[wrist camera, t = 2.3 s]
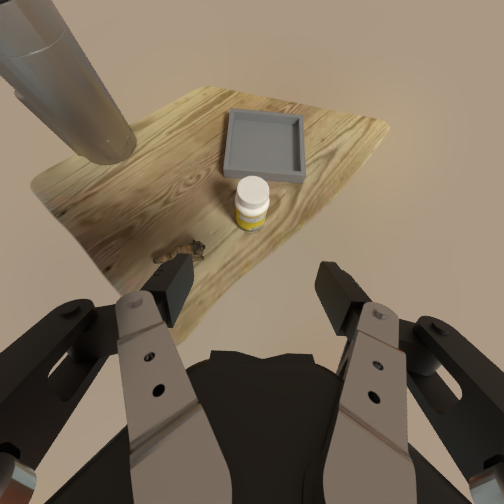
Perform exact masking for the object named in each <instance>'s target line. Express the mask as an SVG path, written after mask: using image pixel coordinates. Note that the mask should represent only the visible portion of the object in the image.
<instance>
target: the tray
mask: <svg viewBox="0 0 504 504" xmlns="http://www.w3.org/2000/svg"><path fill="white" fill-rule="evenodd" d="M223 171H224V177H228V178H240V179H243V178H245V177H247V176H258V177H260V178H262V179H263V180H265V181H277V182H290V183H303V181H304V179H305V176H306V169H305V146H304V123H303V115H296V114H285V113H275V112H265V111H254V110H244V109H234V108H230V115H229V124H228V133H227V141H226V150H225V159H224V167H223Z"/></svg>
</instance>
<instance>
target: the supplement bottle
mask: <svg viewBox="0 0 504 504" xmlns="http://www.w3.org/2000/svg"><path fill="white" fill-rule="evenodd" d="M268 195H269V187H268V184H267V183H266V181H265V180H263V179H262V178H260V177H258V176H247V177H245V178H243V179H242V180H241V181H240V182H239V183H238V186H237V193H236V195H235V213H236V222H237V225H238V226H239V228H240V229H242V230H243V231H245V232H256V231H258V230H259V229H261V227H262V226H263V224H264V221H265V217H266V213H267V209H268V206H269V196H268Z"/></svg>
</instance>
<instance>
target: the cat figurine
mask: <svg viewBox="0 0 504 504" xmlns="http://www.w3.org/2000/svg"><path fill="white" fill-rule="evenodd" d="M204 249H205V245H203V244H202V243H201V242H200V241H195V240H193V243H190V244H185V245H182V246H178V247H176V248H175V252H173V253H169V254H166V255H162V256H159V257H156V258H154V259H153V262H154V263H158V264H159V263H163V262H166V261H168V260H173V258H174V257H175V256H176V255H177V253H191V254H192V259H193V262H194V261H198V260H204V256H202V254H203V250H204Z"/></svg>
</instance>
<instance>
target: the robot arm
mask: <svg viewBox="0 0 504 504" xmlns="http://www.w3.org/2000/svg"><path fill="white" fill-rule="evenodd" d="M0 75H1V76H2V77H3V78H4V79H5V80H6V81H7V82H8V83H9V84H10V85H11V86H12V87H13V88H14V89H15V92H14V93H15V96H16V97H17V99H19V100H20V101H21V102H22V103H23V104H24V105H25V106H26V107H27V108H28V109H29V110H30V111H31V112H33V113H34V114H35V115H36V116H37V117H38V118H39V119H40V120H41V121H42V122H43V123H44V124H45V125H47V126H48V127H49V128H50V129H51V130H52V131H53V132H54V133H55V134H56V135H57V136H58V137H59V138H60V139H61V140H63V141H64V142H65V143H66V144H67V145H68V146H69V147H70V148H71V149H72V150H73V151H74V152H75V153H77V154H78V155H80V156H85V157H86V158H87V159H88V160H89V161H91V162H93V163H97V164H103V165H108V164H114V163H118V162H120V161H122V160H124V159H126V158H127V157H128V156H129V155H131V153H132V152H133V151H134V149H135V147H136V137H135V134H134V133H133V131H132V129H131V128H130V126H129V125H128V123H127V121H126V120H125V118H124V116H123V115H122V114H121V111H120V110H119V108H118V107H117V105H116V103H115V102H114V100H113V99H112V97H111V95H110V94H109V92H108V90H107V89H106V87H105V86H104V84H103V83H102V81H101V79H100V78H99V76H98V74H97V73H96V71H95V70H94V68H93V67H92V65H91V63H90V62H89V60H88V58H87V57H86V55H85V53H84V52H83V50H82V49H81V47H80V45H79V44H78V42H77V41H76V39H75V37H74V36H73V34H72V33H71V31H70V29H69V28H68V26H67V24H66V23H65V21H64V20H63V18H62V16H61V15H60V13H59V12H58V10H57V8H56V7H55V5H54V4H53V2H52V1H51V0H0ZM193 282H194V269H193V259H192V254H191V253H177V255H176V256H175V257H174V258H173V260H168V261H166V262H165V263H163V264H161V265H160V267H159V268H158V269H157V271H155V272H154V274H153V276H151V277H150V278H149V280H148V281H147V282H146V283H145V284H144V286H143V287H142V288H141V289H140V290H139V291H134V292H131V293H128V294H126V295H124V296H123V297H121V298H120V299H119V300H118V301H117V302H116V304H113V305H108V306H102V307H96V308H95V306H94V304H93V302H92V301H91V300H88V299H78V300H73V301H70V302H67V303H64V304H63V305H60V306H58V307H57V308H55V309H54V310H52V311H51V312H50V313H49V314H47V315H46V316H45V317H44V318H43V319H41V320H40V321H39V322H38V323H37V324H35V325H34V326H33V327H32V328H30V329H29V330H28V331H27V332H26V333H24V334H23V335H22V336H21V337H19V338H18V339H17V340H16V341H15V342H13V343H12V344H11V345H10V346H9V347H7V348H6V349H5V350H4V351H3V352H1V353H0V504H29V502H30V499H31V498H32V495H33V492H34V490H35V486H36V473H35V469H36V468H37V467H38V465H39V463H40V462H41V460H42V459H43V457H44V456H45V454H46V453H47V451H48V450H49V448H50V446H51V445H52V443H53V442H54V440H55V439H56V437H57V436H58V434H59V433H60V431H61V430H62V428H63V426H64V425H65V423H66V422H67V420H68V419H69V417H70V416H71V414H72V412H73V411H74V409H75V408H76V406H77V405H78V403H79V402H80V400H81V399H82V397H83V396H84V394H85V393H86V391H87V389H88V388H89V386H90V385H91V383H92V382H93V380H94V379H95V377H96V376H97V374H98V372H99V371H100V369H101V368H102V366H103V365H104V363H105V362H106V360H107V359H108V357H109V355H114V354H117V353H118V354H119V362H120V370H121V378H122V386H123V394H124V401H125V409H126V417H127V425H126V426H125V427H124V428H123V429H122V430H121V431H120V432H119V433H118V434H117V435H116V436H115V437H113V438H112V439H111V440H110V441H109V442H108V443H107V444H106V445H105V446H104V447H103V448H102V449H101V450H100V451H99V452H98V453H97V454H96V455H95V456H94V457H93V458H91V459H90V461H88V462H87V463H86V464H85V465H84V466H83V467H82V468H81V469H80V470H79V471H78V472H77V473H76V474H75V475H74V476H73V477H72V478H71V479H69V480H68V481H67V483H65V484H64V485H63V486H62V487H61V488H60V489H59V490H58V491H57V492H56V493H55V494H54V495H53V496H52V497H51V498H50V499H48V500H47V501H46V502H45V503H44V504H472V503H471V502H470V501H469V500H468V499H467V498H466V497H465V496H464V495H463V494H461V492H460V491H458V490H457V489H456V488H455V487H454V486H453V485H452V484H451V483H450V482H449V481H448V480H447V479H446V478H445V477H444V476H443V475H442V474H441V473H440V472H439V471H438V470H436V469H435V467H434V466H432V465H431V464H430V463H429V462H428V461H427V460H426V459H425V458H424V457H423V456H422V455H421V454H420V453H419V452H418V451H417V450H416V449H415V448H414V447H413V446H412V445H411V444H410V443H408V439H407V438H408V436H407V387H408V388H409V390H410V392H411V393H412V395H413V396H414V398H415V399H416V401H417V402H418V404H419V406H420V407H421V409H422V411H423V412H424V414H425V415H426V417H427V418H428V420H429V422H430V423H431V425H432V426H433V428H434V430H435V431H436V433H437V434H438V436H439V438H440V439H441V441H442V443H443V444H444V446H445V447H446V449H447V450H448V452H449V454H450V455H451V457H452V458H453V460H454V462H455V463H456V465H457V466H458V468H459V470H460V471H461V472H462V474H463V476H464V477H465V479H466V481H467V482H468V484H469V489H470V493H471V496H472V499H473V501H474V503H475V504H504V372H503V371H501V370H500V369H499V368H498V367H497V366H496V365H495V364H494V363H493V362H491V361H490V360H489V359H488V358H487V357H486V356H485V355H484V354H482V353H481V352H480V351H479V350H478V349H477V348H476V347H475V346H474V345H472V344H471V343H470V342H469V341H468V340H467V339H466V338H465V337H463V336H462V335H461V334H460V333H459V332H458V331H457V330H456V329H454V328H453V327H452V326H450V325H449V324H447V323H445V322H443V321H441V320H439V319H437V318H434V317H430V316H422V317H420V318H419V319H418V321H417V322H416V323H413V322H409V321H406V320H402V319H399V318H398V316H397V315H396V314H395V313H394V312H393V311H392V310H391V309H389V308H388V307H386V306H384V305H382V304H379V303H375V302H372V301H371V299H370V298H369V297H368V296H367V295H366V293H365V292H364V291H363V290H362V288H361V287H359V285H358V284H357V283H356V282H355V280H354V279H353V278H352V276H350V275H349V274H348V273H346V272H345V271H343V270H341V269H340V268H339V266H338V265H337V264H336V263H335V262H325V261H322V262H321V263H320V267H319V270H318V273H317V277H316V280H315V290H316V293H317V295H318V297H319V299H320V301H321V304H322V306H323V307H324V310H325V312H326V314H327V316H328V318H329V320H330V322H331V324H332V326H333V329H334V331H335V333H336V335H337V336H346V337H347V339H348V340H347V342H346V344H345V347H344V350H343V353H342V356H341V360H340V363H339V366H338V369H337V371H336V374H335V373H333V372H332V371H330V370H329V369H327V368H325V367H323V366H321V365H318V364H315V362H314V358H313V355H312V354H290V353H289V354H288V353H287V354H283V355H279V356H274V357H270V358H266V359H260V358H257V357H254V356H250V355H246V354H244V353H240V352H237V351H214V350H212V351H211V354H210V359H208V360H204V361H201V362H198V363H196V364H194V365H192V366H191V367H189V368H187V369H186V370H185V368H184V366H183V363H182V361H181V359H180V356H179V354H178V351H177V349H176V347H175V344H174V342H173V339H172V337H171V335H170V332H169V330H168V328H173V326H174V324H175V322H176V320H177V318H178V315H179V313H180V311H181V309H182V307H183V305H184V302H185V300H186V298H187V296H188V294H189V292H190V289H191V287H192V285H193ZM66 352H67V353H68V355H67V356H66V358H65V359H64V360H63V361H62V362H61V364H60V365H59V366H58V367H57V368H56V369H55V370H54V371H53V373H52V374H51V375H50V376H49V377H48V375H49V372H50V370H51V369H52V368H53V366H54V365H55V364H56V363H57V362H58V361H59V359H60V358H61V357H62V356H63V355H64V354H65V353H66ZM441 365H443V366H444V367H445V369H446V370H447V371H448V372H449V373H450V374H451V375H452V377H453V378H454V379H455V380H456V381H457V383H458V384H459V385H460V387H461V389H462V398H461V400H458V398H457V397H456V396H455V395H454V393H453V392H452V391H451V390H450V388H449V387H448V386H447V385H446V383H445V382H444V381H443V380H442V379H441V377H440V376H439V375H438V374H437V372H436V370H437V369H438V368H439V367H440V366H441Z"/></svg>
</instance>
